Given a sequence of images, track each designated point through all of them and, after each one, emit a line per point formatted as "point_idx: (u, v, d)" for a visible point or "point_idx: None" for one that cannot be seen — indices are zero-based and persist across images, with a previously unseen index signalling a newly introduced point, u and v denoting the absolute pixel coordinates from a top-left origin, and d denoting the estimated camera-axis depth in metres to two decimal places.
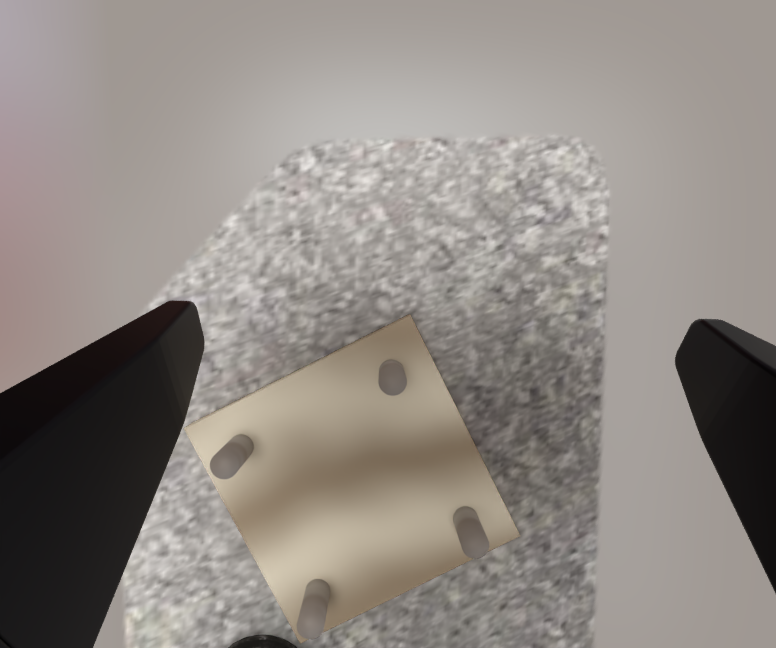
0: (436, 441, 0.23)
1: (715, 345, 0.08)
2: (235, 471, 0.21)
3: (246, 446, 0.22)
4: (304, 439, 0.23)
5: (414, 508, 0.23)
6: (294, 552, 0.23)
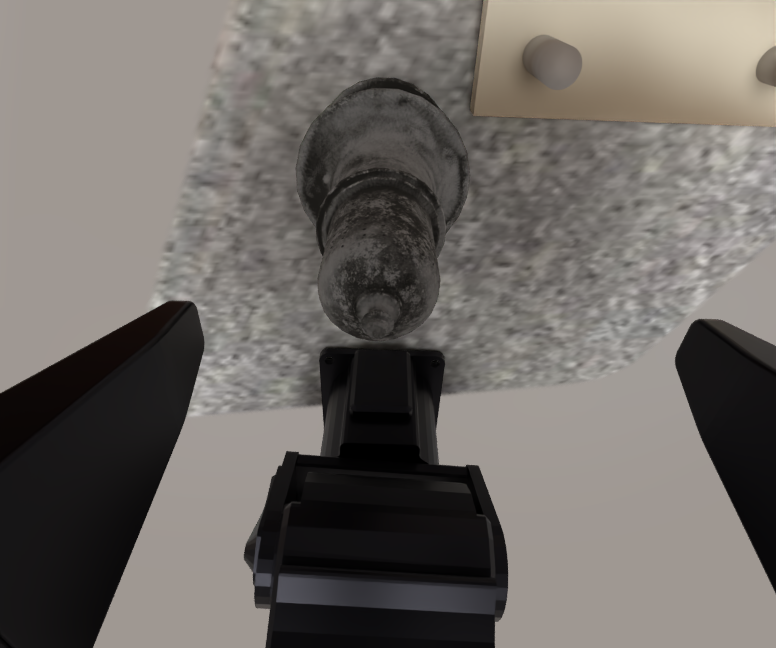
0: None
1: (715, 344, 0.08)
2: None
3: None
4: None
5: (738, 7, 0.16)
6: None
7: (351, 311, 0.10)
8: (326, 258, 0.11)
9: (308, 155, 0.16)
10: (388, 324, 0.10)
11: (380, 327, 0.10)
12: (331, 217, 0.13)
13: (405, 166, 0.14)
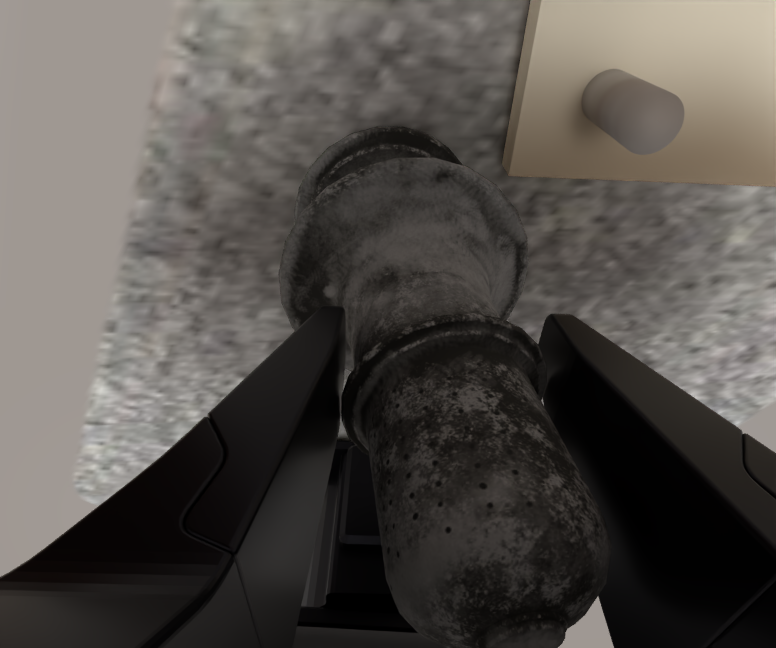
0: None
1: (558, 339, 0.08)
2: None
3: None
4: None
5: None
6: None
7: (470, 645, 0.05)
8: (409, 541, 0.06)
9: (299, 257, 0.10)
10: None
11: None
12: (371, 395, 0.08)
13: (468, 285, 0.09)
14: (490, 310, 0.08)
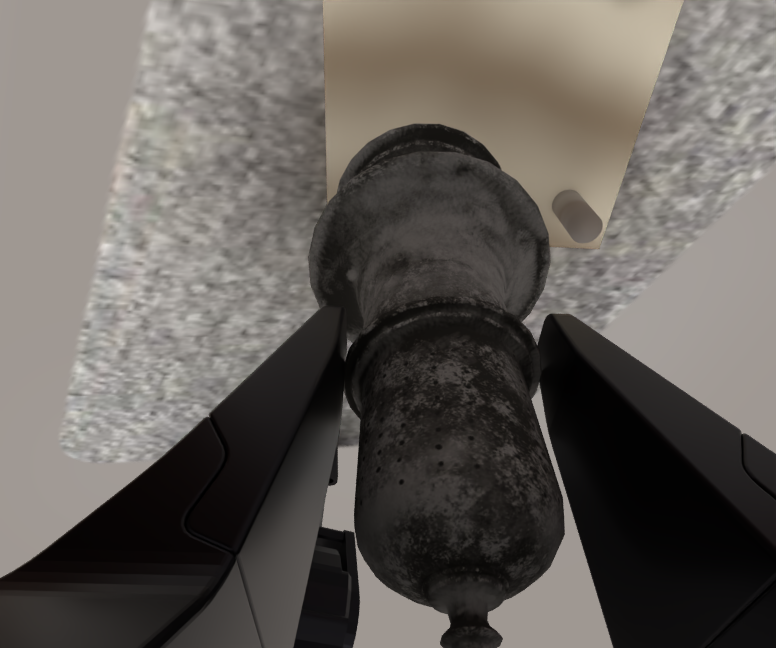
0: (606, 100, 0.18)
1: (557, 339, 0.08)
2: None
3: None
4: None
5: (527, 163, 0.19)
6: (374, 137, 0.19)
7: (417, 591, 0.06)
8: (370, 490, 0.06)
9: (326, 242, 0.11)
10: (493, 646, 0.05)
11: None
12: (367, 367, 0.08)
13: (473, 274, 0.09)
14: (491, 298, 0.09)
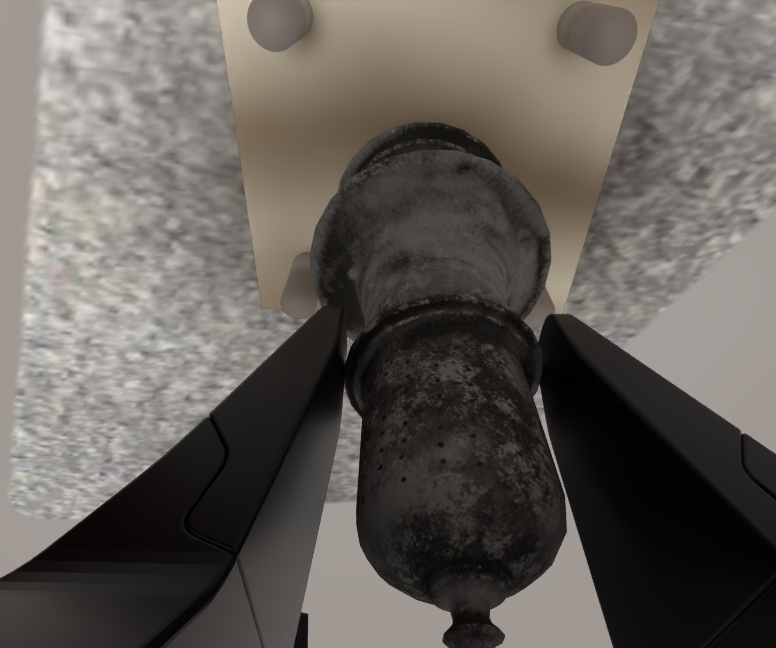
0: (558, 168, 0.16)
1: (557, 339, 0.08)
2: (287, 45, 0.12)
3: (307, 15, 0.13)
4: (392, 59, 0.14)
5: None
6: (301, 210, 0.17)
7: (419, 589, 0.06)
8: (372, 488, 0.06)
9: (327, 240, 0.11)
10: (495, 643, 0.05)
11: None
12: (369, 365, 0.08)
13: (475, 272, 0.09)
14: (493, 296, 0.09)
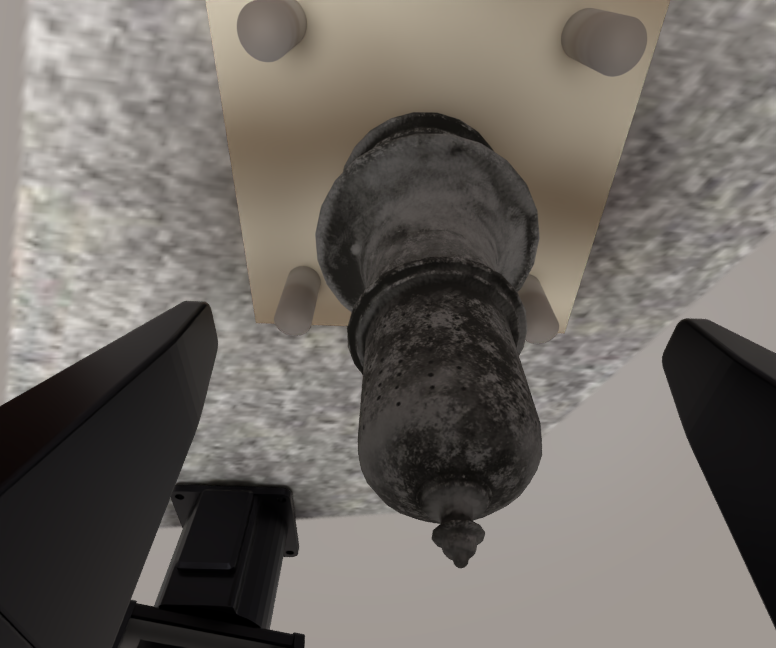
0: (562, 180, 0.15)
1: (700, 344, 0.08)
2: (279, 55, 0.11)
3: (301, 23, 0.12)
4: (390, 69, 0.13)
5: None
6: (296, 223, 0.16)
7: (412, 500, 0.07)
8: (372, 415, 0.07)
9: (331, 219, 0.12)
10: (476, 538, 0.06)
11: (466, 550, 0.06)
12: (369, 322, 0.09)
13: (466, 242, 0.10)
14: (482, 262, 0.10)
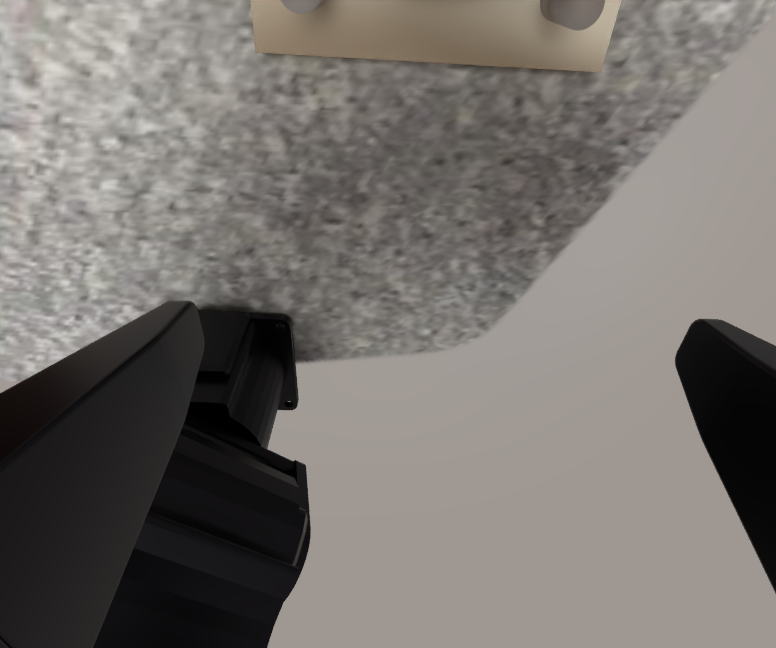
0: None
1: (715, 344, 0.08)
2: None
3: None
4: None
5: None
6: None
7: None
8: None
9: None
10: None
11: None
12: None
13: None
14: None
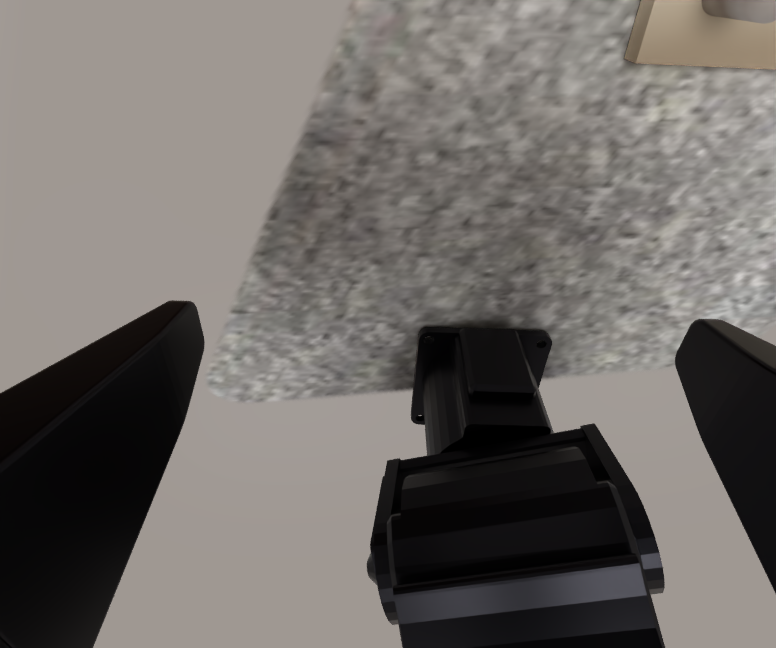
0: None
1: (715, 345, 0.08)
2: None
3: None
4: None
5: None
6: None
7: None
8: None
9: None
10: None
11: None
12: None
13: None
14: None
